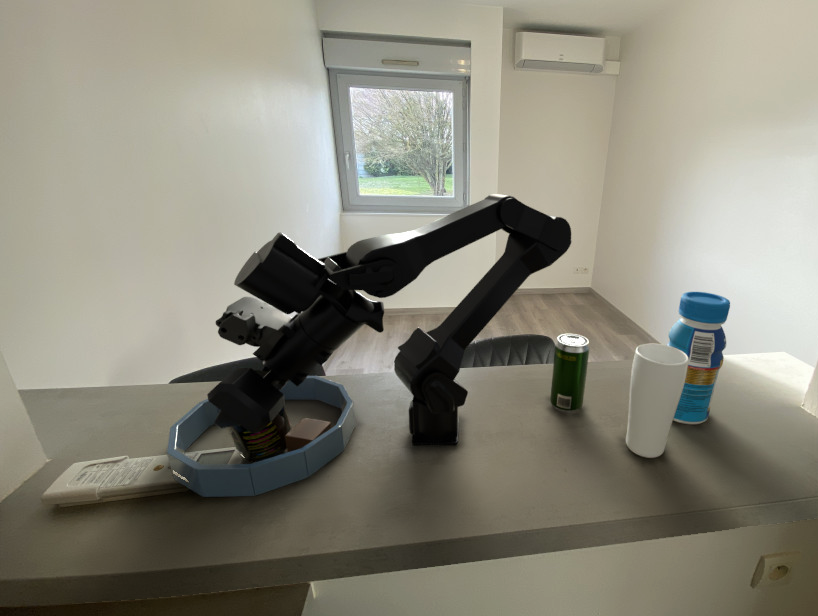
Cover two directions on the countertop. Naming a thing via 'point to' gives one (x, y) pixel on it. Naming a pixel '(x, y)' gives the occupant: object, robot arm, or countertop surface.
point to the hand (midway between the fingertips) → (236, 406)
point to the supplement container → (262, 436)
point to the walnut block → (305, 433)
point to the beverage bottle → (699, 351)
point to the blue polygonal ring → (269, 471)
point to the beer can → (569, 372)
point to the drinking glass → (654, 397)
